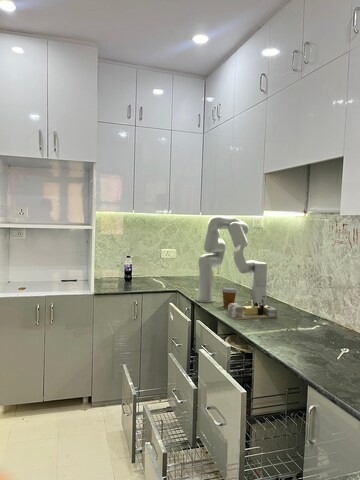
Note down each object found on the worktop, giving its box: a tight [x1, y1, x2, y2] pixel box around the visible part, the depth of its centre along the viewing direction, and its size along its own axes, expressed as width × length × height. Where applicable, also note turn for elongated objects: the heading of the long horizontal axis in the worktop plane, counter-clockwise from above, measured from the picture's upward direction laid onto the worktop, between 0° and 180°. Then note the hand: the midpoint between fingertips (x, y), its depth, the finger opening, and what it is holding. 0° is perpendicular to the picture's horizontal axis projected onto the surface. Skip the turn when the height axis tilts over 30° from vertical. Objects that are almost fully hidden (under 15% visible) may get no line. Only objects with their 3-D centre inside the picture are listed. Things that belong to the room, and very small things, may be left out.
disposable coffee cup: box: [221, 286, 238, 309], centre depth 234 cm, size 10×10×12 cm
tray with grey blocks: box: [225, 302, 278, 321], centre depth 216 cm, size 14×26×7 cm, turn 109°
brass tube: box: [242, 305, 269, 315], centre depth 217 cm, size 4×15×4 cm, turn 109°
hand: (258, 313), depth 218 cm, fingers closed on brass tube, 4 cm apart
